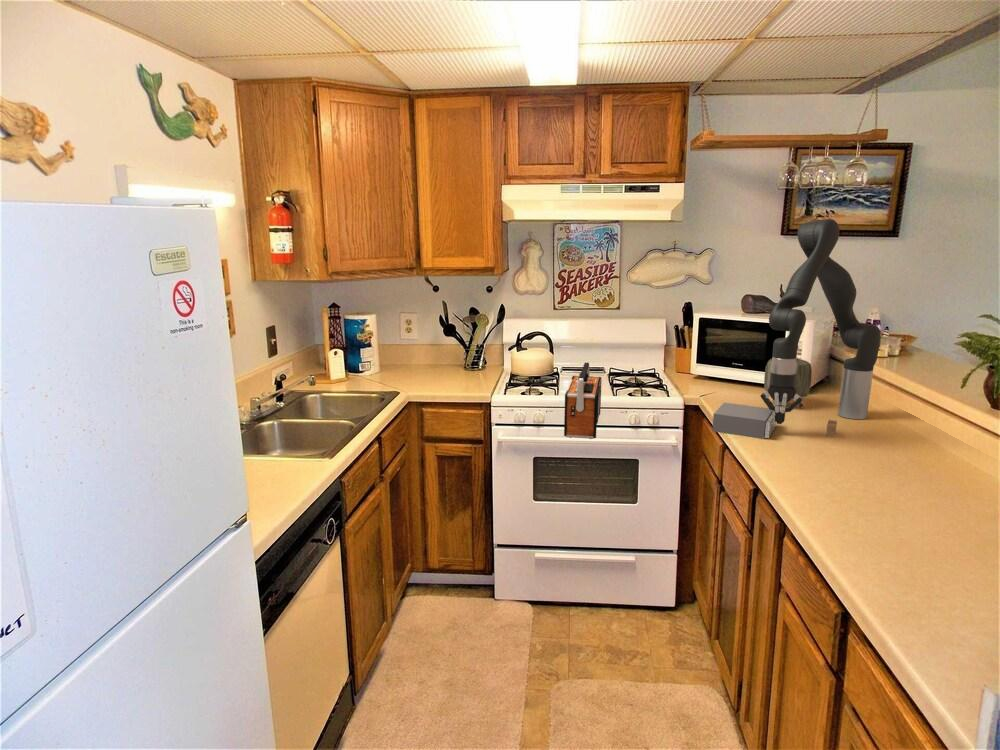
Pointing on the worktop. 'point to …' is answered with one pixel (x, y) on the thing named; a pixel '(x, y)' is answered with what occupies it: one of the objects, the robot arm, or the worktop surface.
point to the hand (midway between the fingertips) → (779, 423)
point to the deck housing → (741, 420)
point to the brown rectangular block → (831, 428)
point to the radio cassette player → (582, 405)
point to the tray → (770, 425)
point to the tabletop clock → (801, 378)
